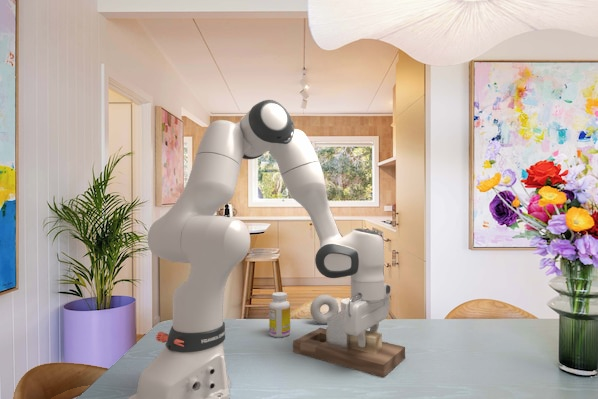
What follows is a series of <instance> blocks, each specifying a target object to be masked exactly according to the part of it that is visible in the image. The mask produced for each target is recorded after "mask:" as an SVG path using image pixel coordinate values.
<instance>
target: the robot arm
mask: <svg viewBox="0 0 598 399" xmlns="http://www.w3.org/2000/svg"><path fill="white" fill-rule="evenodd" d="M267 152H268V154H269V155H270V156H271V157H272V158H273V159H274V160H275V162H276V164H277V167H278V171H279V173H280V176H281V178H282V180H283V183H284V186H285V187H286V190H287V192H289V195H290V196H291V198H292V199H293V200H294V201H295V202H296V203H298V204H300V206H302V207H303V208H304V210H305V211H306V213H307V214H308V215H309V218H310V219H311V222H312V225H313V227H314V230H315V233H316V234H317V238H318V240H319V249H318V250H317V252H316V254H315V258H314V263H315V267H316V269H317V271H319V273H320V274H321V275H323V276H324V277H326V278H329V279H340V278H346V277H350V301H349V303H347V305H346V307H345V314H344V331H345V333H346V334H349V335H353V336H357V338H358V345H359V346H360V347H365V346H366V345H367V339H365V335H364V334H365V333H366V330H369V331H372V332H377V333H378V330H379V326H380V322H382V321H384V320H385V319H387V318H388V317H389V314H390V304H391V300H390V299H391V297H390V296H391V295H390V294H391V292H392V286H391V284H388V283H386V280H385V275H384V267H385V246H384V244H385V243H384V239H383V237H382V236H381V234H380V233H378V232H376V231H374V230H370V229H365V228H354V229H353V230H351V231H350V232H349V233H347V234H345V235H342V233H341V232H340V229H339V227H338V225H337V223H336V220H335V217H334V215H333V212H332V210H331V207H330V204H329V199H328V193H327V185H326V179H325V175H324V172H323V171H324V170H323V168H322V166H321V163H320V160H319V158H318V154H317V153H316V151H315V148H314V147H313V145H312V143H311V141H310V139H309V138H308V136H307V134H306V133H305V132H304V131H302V130H301V129H298V128H295V122H294V121H293V120H292V118H291V115H290V114H289V112H288V111H287V109H286V108H285V107H284V106H283V105H282V104H281V103H279V102H278V101H276V100H273V99H265V100H262V101H260V102H258V103H256V104H254V105H253V106H252V107H251V109H250V110H249V111H248V112H247V113H246V114H245V115H243V116H242V117H241V118H240V119H239V120H238V122H233V121H230V120H226V119H217V120H215V121H212V122H211V123H210V124H209V125H208V126H207V128H206V130H205V131H204V134H203V136H202V138H201V140H200V141H199V144H198V147H197V151H196V153H195V157H194V160H193V163H192V167H191V170H190V173H189V176H188V179H187V182H186V185H185V187H184V188H183V190H182V192H181V194H180V195H179V197H178V198H177V200H176V201H175V203H174V204H173V205H172V206H171V208H169V210H168V211H167V212H166V213H165V214H164V215H162V216H161V217H159V218H158V219H157V220H155V221H153V223H152V224H151V226H150V227H149V229H148V233H147V246H148V248H149V251H150V252H151V253H152V254H153V256H156V257H158V258H160V259H163V260H166V261H168V262H172V263H183V264H190V269H189V274H188V278H187V279H186V281H184V282H182V283H181V284H179V285H178V286H177V287H176V288H175V289H174V292H173V294H172V325H171V328H170V330H169V332H168V333H167V332H163V331H159V332H157V334H156V335H155V336H156V337H155V340H156V341H157V342H160V343H163V344H164V343H165V347H163V349H162V350H161V351H160V352H159V353H158V354H157V356H155V357H154V359H152V361H151V362H150V363H149V364H148V365H147V366H146V367H145V369H144V370H143V371H141V373H140V375H139V378H138V382H137V389H136V393H134V394H132V395H130V396H129V397H127V398H126V399H230V396H231V395H230V388H231V384H232V383H231V380H230V376H229V372H228V369H227V362H226V354H225V343H224V342H225V340H226V325H225V324H226V323H225V322H224V299H225V298H224V297H225V296H224V295H225V289H226V284H227V282H228V279H229V277H230V275H231V274H232V272H233V270H234V268H235V267H236V266H238V265H239V264H240V263H241V262H242V261H243V260H244V259H245V258H246V257H247V255H248V253H249V251H250V249H251V248H250V247H251V235H250V234H251V233H250V231H249V229H248V226H247V225H246V224H245V222H243V221H242V220H239V219H237V218H234V217H233V218H232V217H229V216H225V215H215V213H217V211H218V210H219V209H221V207H223V206H225V205H226V204H228V203H229V202H230V201H231V200H232V199H233V198H234V195H235V191H236V188H237V183H238V179H239V175H240V171H241V167H242V161H243V160H256V159H258V158H260V157H262V156H263V155H264V154H265V153H267Z"/></svg>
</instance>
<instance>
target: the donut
mask: <svg viewBox="0 0 598 399" xmlns="http://www.w3.org/2000/svg"><path fill="white" fill-rule="evenodd" d="M325 305H326V306H327V307H328V311H327V312H326V313H322V312H321V308H322V306H325ZM309 310H310V316H311V317H312V319H313V321H315V322H316V323H319V324H322V325H327V318H328V317H330V316H332V315H334V314H336V313H338V312H339V304H338V301H337V300H336V299H335V298H334V297H333V296H332V295H330V294H320V295H318V296H316V297H315V298H314V299H313V300H312V302H311V304H310V309H309Z"/></svg>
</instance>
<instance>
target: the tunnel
mask: <svg viewBox="0 0 598 399" xmlns="http://www.w3.org/2000/svg"><path fill="white" fill-rule="evenodd" d="M344 314H345V311H341V310H340V311H338V313H336V314H334V315H332V316H330V317H328V318H327V324H326V328H327V345H328V346H331V347H335V348H339V349H343V350H348V349H349V334H346V333H345V331H344Z"/></svg>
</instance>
